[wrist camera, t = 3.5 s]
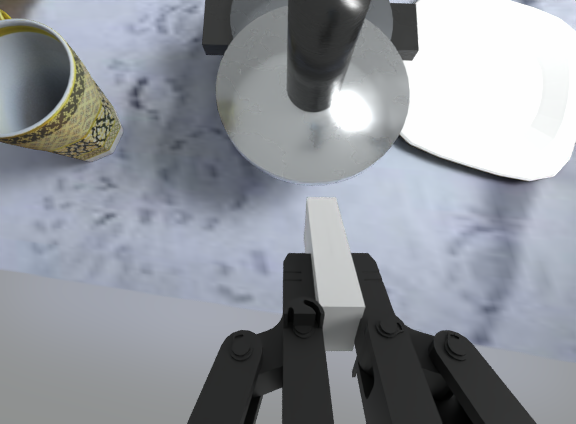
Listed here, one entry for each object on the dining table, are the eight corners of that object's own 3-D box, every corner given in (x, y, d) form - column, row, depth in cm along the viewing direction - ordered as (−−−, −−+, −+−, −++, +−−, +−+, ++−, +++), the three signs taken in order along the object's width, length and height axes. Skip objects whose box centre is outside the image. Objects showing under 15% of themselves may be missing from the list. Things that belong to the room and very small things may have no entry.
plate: (555, 199, 32) (570, 196, 30) (366, 141, 32) (371, 134, 31) (583, 35, 35) (599, 23, 33) (412, -15, 36) (419, -28, 34)
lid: (399, 17, 26) (473, -135, 16) (408, 187, 23) (501, 135, 13) (224, 11, 26) (186, -146, 16) (213, 183, 23) (159, 126, 13)
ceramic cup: (152, 153, 31) (91, 105, 21) (63, 191, 30) (-43, 158, 21) (112, 56, 33) (39, -30, 23) (27, 89, 32) (-86, 14, 22)
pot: (389, 13, 34) (416, -48, 28) (394, 130, 32) (425, 95, 25) (222, 8, 34) (207, -55, 27) (215, 125, 32) (196, 89, 25)
